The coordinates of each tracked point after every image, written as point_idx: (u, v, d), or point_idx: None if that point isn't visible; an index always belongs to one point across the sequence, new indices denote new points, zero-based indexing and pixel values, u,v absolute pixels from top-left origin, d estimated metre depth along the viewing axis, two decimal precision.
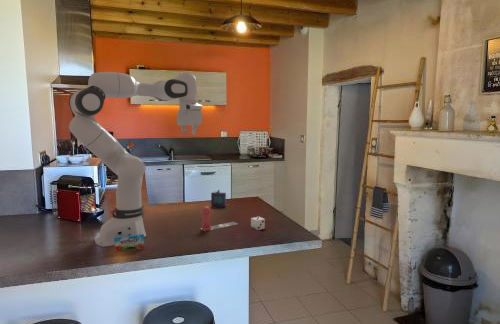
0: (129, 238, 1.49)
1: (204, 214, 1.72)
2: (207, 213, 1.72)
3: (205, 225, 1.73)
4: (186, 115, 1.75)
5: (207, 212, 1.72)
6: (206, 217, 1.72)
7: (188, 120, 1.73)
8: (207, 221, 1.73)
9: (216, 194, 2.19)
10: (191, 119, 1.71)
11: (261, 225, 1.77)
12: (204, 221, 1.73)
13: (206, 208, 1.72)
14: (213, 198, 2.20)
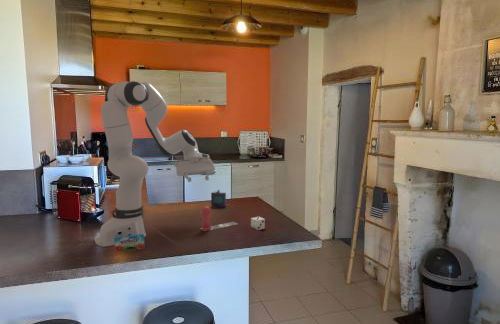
0: (129, 238, 1.49)
1: (204, 214, 1.72)
2: (207, 213, 1.72)
3: (205, 225, 1.73)
4: (196, 164, 1.87)
5: (207, 212, 1.72)
6: (206, 217, 1.72)
7: (201, 167, 1.87)
8: (207, 221, 1.73)
9: (216, 194, 2.19)
10: (207, 165, 1.88)
11: (261, 225, 1.77)
12: (204, 221, 1.73)
13: (206, 208, 1.72)
14: (213, 198, 2.20)
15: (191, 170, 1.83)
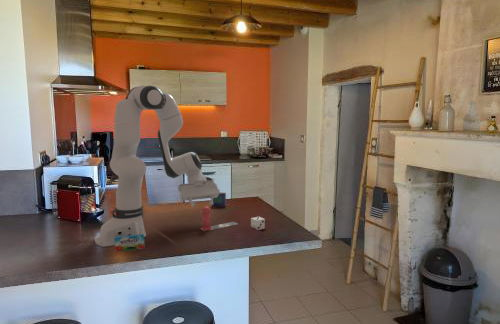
0: (129, 238, 1.49)
1: (204, 214, 1.72)
2: (207, 213, 1.72)
3: (205, 225, 1.73)
4: (200, 187, 1.83)
5: (207, 212, 1.72)
6: (206, 217, 1.72)
7: (205, 191, 1.82)
8: (207, 221, 1.73)
9: None
10: (211, 189, 1.84)
11: (261, 225, 1.77)
12: (204, 221, 1.73)
13: (206, 208, 1.72)
14: None
15: (195, 195, 1.79)
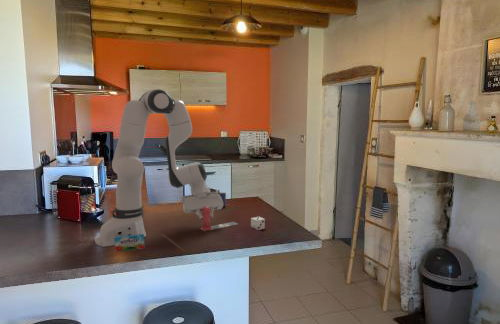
0: (129, 238, 1.49)
1: (204, 214, 1.72)
2: (207, 213, 1.72)
3: (205, 225, 1.73)
4: (204, 199, 1.78)
5: (207, 212, 1.72)
6: (206, 217, 1.72)
7: (209, 203, 1.77)
8: (207, 221, 1.73)
9: None
10: (215, 201, 1.79)
11: (261, 225, 1.77)
12: (204, 221, 1.73)
13: (206, 208, 1.72)
14: None
15: (199, 207, 1.74)
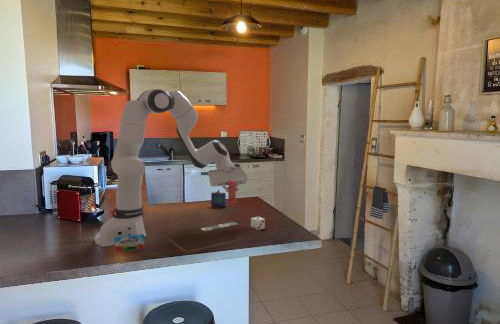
0: (129, 238, 1.49)
1: (230, 187, 1.79)
2: (233, 186, 1.79)
3: (231, 197, 1.80)
4: (229, 174, 1.85)
5: (233, 185, 1.79)
6: (232, 190, 1.79)
7: (234, 177, 1.84)
8: (233, 194, 1.80)
9: (216, 194, 2.19)
10: (240, 175, 1.86)
11: (261, 225, 1.77)
12: (230, 194, 1.80)
13: (232, 181, 1.79)
14: (213, 198, 2.20)
15: (225, 180, 1.81)
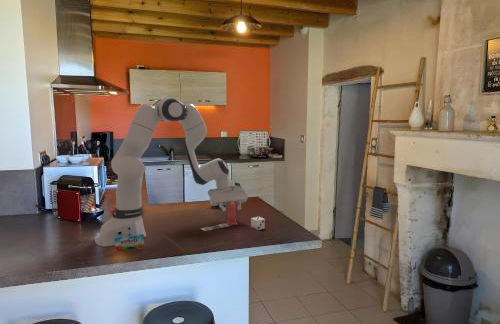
0: (129, 238, 1.49)
1: (230, 209, 1.81)
2: (233, 208, 1.81)
3: (231, 220, 1.81)
4: (229, 193, 1.86)
5: (233, 207, 1.80)
6: (232, 212, 1.81)
7: (234, 196, 1.85)
8: (233, 216, 1.81)
9: None
10: (240, 194, 1.87)
11: (261, 225, 1.77)
12: (230, 216, 1.81)
13: (232, 204, 1.80)
14: None
15: (225, 200, 1.82)
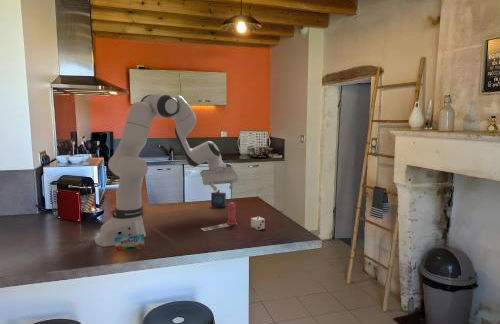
0: (129, 238, 1.49)
1: (230, 209, 1.81)
2: (233, 208, 1.81)
3: (231, 220, 1.81)
4: (221, 173, 1.97)
5: (233, 207, 1.80)
6: (232, 212, 1.81)
7: (225, 176, 1.96)
8: (233, 216, 1.81)
9: (216, 194, 2.19)
10: (231, 175, 1.98)
11: (261, 225, 1.77)
12: (230, 216, 1.81)
13: (232, 204, 1.81)
14: (213, 198, 2.20)
15: (216, 179, 1.93)
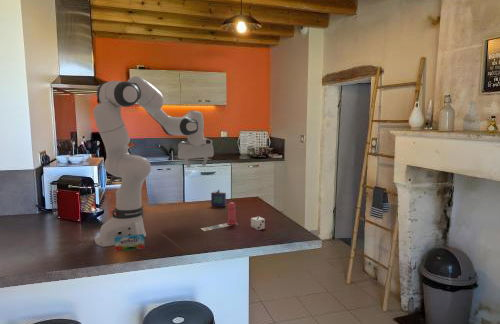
0: (129, 238, 1.49)
1: (230, 209, 1.81)
2: (233, 208, 1.81)
3: (231, 220, 1.81)
4: (198, 149, 1.91)
5: (233, 207, 1.80)
6: (232, 212, 1.81)
7: (202, 153, 1.93)
8: (233, 216, 1.81)
9: (216, 194, 2.19)
10: (207, 151, 1.94)
11: (261, 225, 1.77)
12: (230, 216, 1.81)
13: (232, 204, 1.81)
14: (213, 198, 2.20)
15: (192, 157, 1.89)
